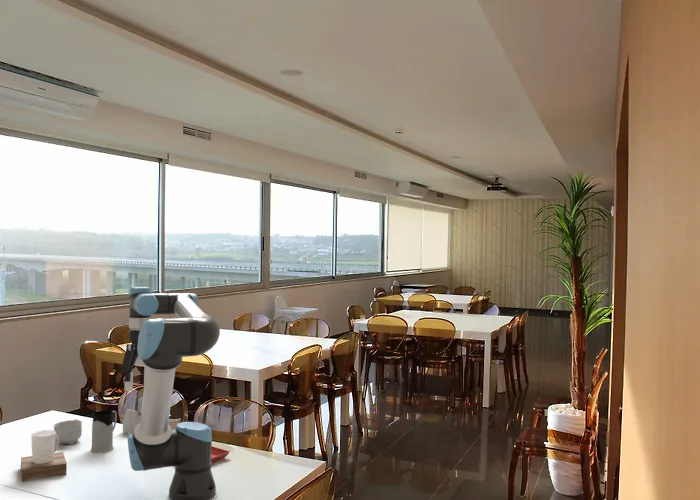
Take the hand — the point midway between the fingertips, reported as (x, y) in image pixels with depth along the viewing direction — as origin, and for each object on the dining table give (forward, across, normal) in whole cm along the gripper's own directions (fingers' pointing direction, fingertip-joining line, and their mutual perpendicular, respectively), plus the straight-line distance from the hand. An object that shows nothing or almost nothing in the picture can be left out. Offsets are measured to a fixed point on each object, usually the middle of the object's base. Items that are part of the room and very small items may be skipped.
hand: (138, 386), depth 224 cm
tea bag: (+30, +44, +27) cm, 60 cm away
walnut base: (+31, -8, +32) cm, 45 cm away
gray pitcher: (+30, +22, +26) cm, 46 cm away
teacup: (+30, +27, +46) cm, 61 cm away
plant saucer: (+31, +17, -16) cm, 39 cm away
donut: (+30, +7, +42) cm, 52 cm away
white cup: (+27, -8, +32) cm, 43 cm away
